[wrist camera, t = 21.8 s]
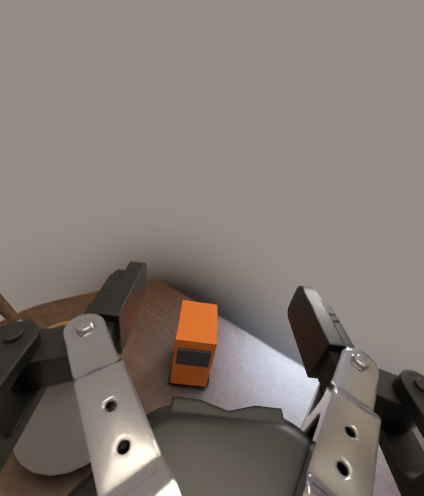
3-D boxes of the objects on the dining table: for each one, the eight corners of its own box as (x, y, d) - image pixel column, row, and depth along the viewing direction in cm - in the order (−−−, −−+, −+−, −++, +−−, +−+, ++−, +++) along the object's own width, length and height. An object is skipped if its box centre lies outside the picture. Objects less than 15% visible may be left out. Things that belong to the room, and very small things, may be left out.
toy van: (175, 345, 37) (180, 299, 32) (208, 349, 37) (219, 304, 32) (167, 389, 31) (172, 341, 26) (206, 393, 32) (219, 347, 27)
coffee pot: (152, 400, 30) (157, 319, 22) (68, 518, 21) (26, 449, 13) (45, 323, 37) (21, 242, 29) (-54, 387, 28) (-128, 292, 20)
